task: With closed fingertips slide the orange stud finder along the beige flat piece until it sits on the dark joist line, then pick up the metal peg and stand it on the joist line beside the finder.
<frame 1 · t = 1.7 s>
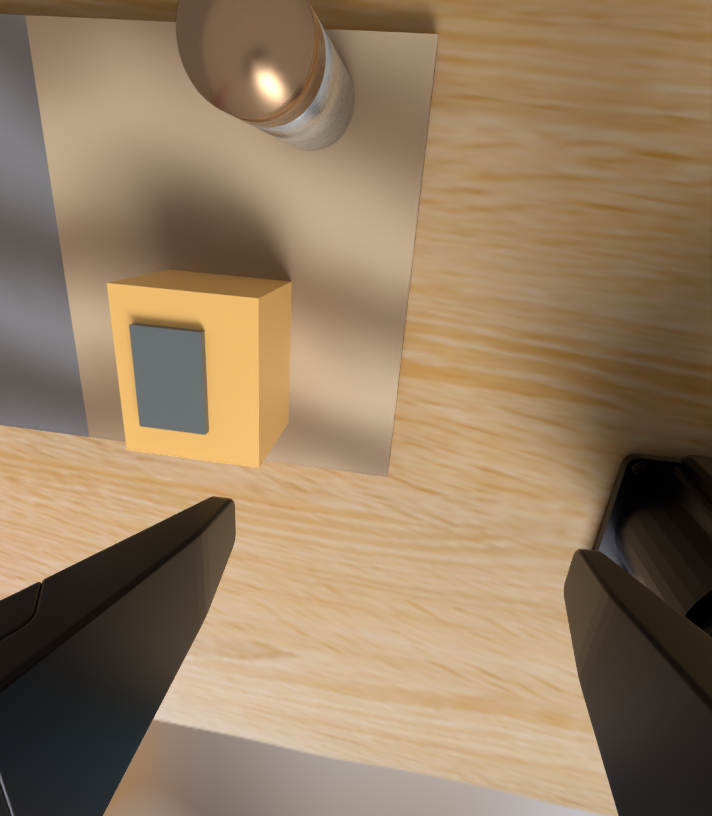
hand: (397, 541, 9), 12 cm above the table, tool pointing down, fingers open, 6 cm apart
metal peg: (310, 100, 16), point 1 cm above the table, touching beige flat piece
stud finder: (231, 349, 20), point 1 cm above the table, touching beige flat piece
beige flat piece: (145, 263, 20), on the table
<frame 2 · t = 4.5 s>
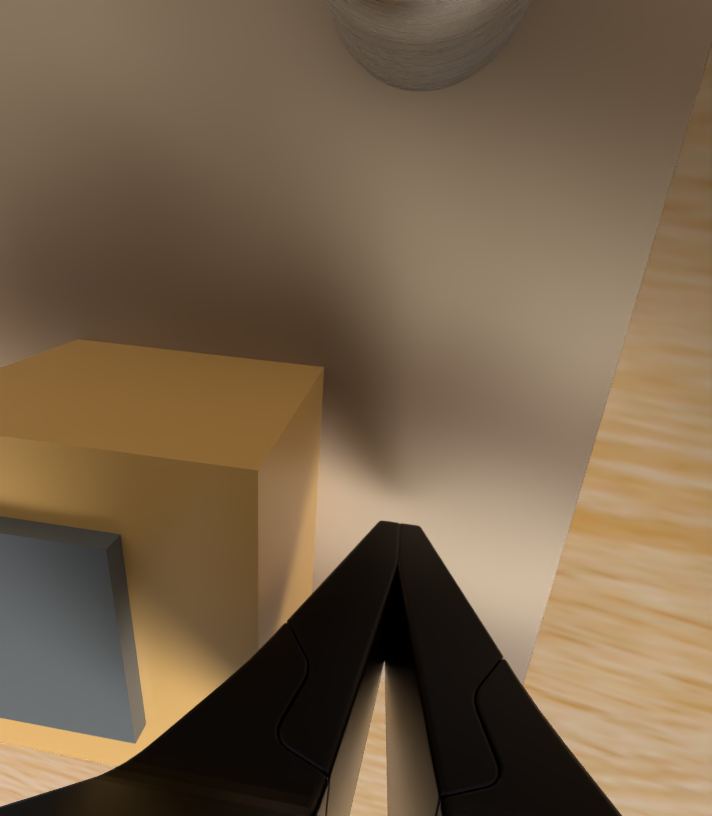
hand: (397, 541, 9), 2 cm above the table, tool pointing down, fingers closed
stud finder: (204, 485, 11), point 1 cm above the table, touching gripper, beige flat piece
beige flat piece: (73, 323, 11), on the table
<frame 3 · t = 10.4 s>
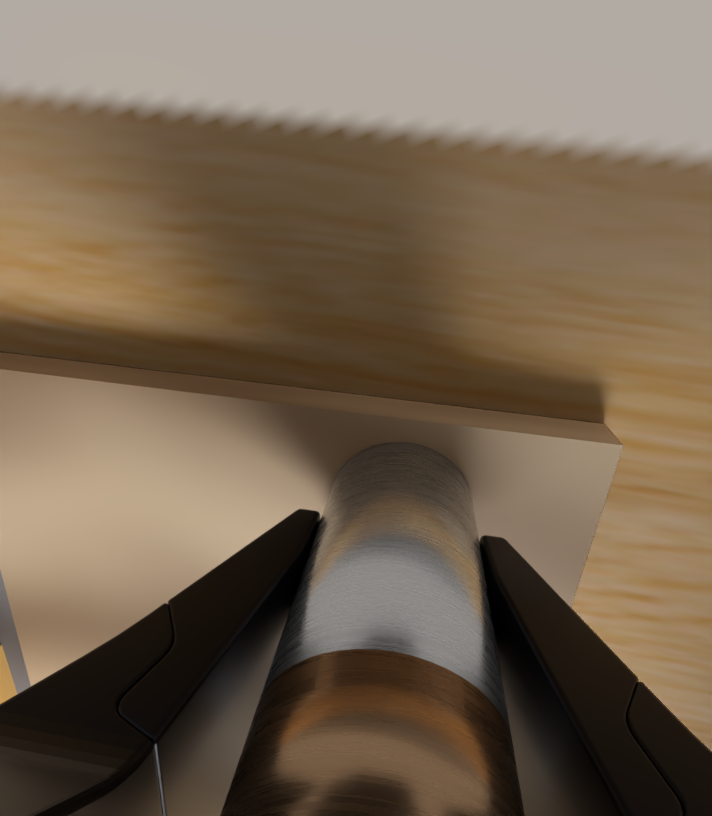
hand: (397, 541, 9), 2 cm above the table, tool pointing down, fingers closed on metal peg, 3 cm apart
metal peg: (399, 505, 10), point 1 cm above the table, touching gripper, beige flat piece
beige flat piece: (139, 626, 14), on the table
when the fingers open (3 cm above the table, at t = 14.0 s): metal peg drops 1 cm, resting on beige flat piece.
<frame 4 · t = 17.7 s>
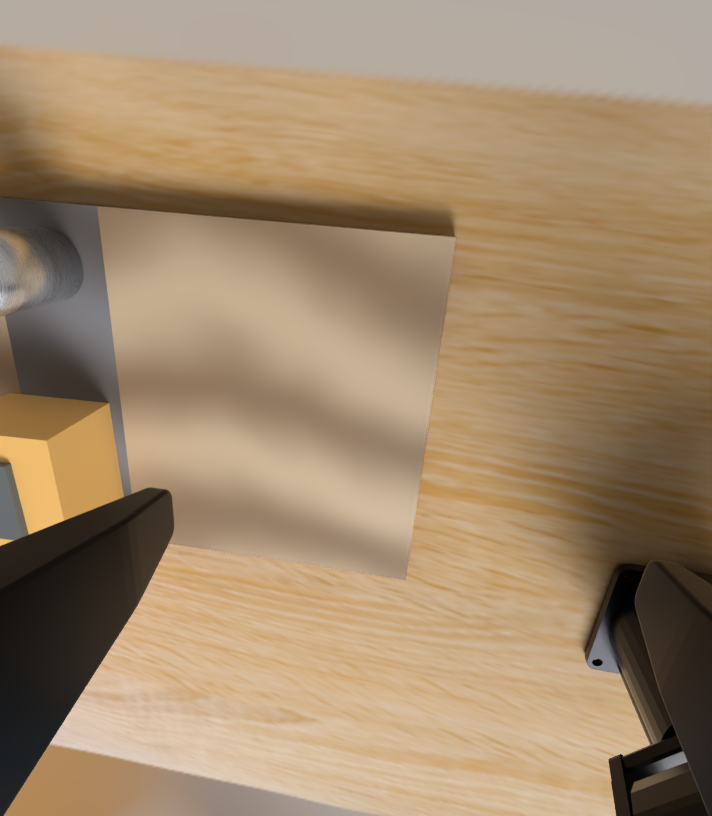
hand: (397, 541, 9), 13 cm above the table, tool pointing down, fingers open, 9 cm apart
metal peg: (49, 264, 20), point 1 cm above the table, touching beige flat piece
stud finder: (70, 454, 24), point 1 cm above the table, touching beige flat piece
beige flat piece: (192, 395, 23), on the table
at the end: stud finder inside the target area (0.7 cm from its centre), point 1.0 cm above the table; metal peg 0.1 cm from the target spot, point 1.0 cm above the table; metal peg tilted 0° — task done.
